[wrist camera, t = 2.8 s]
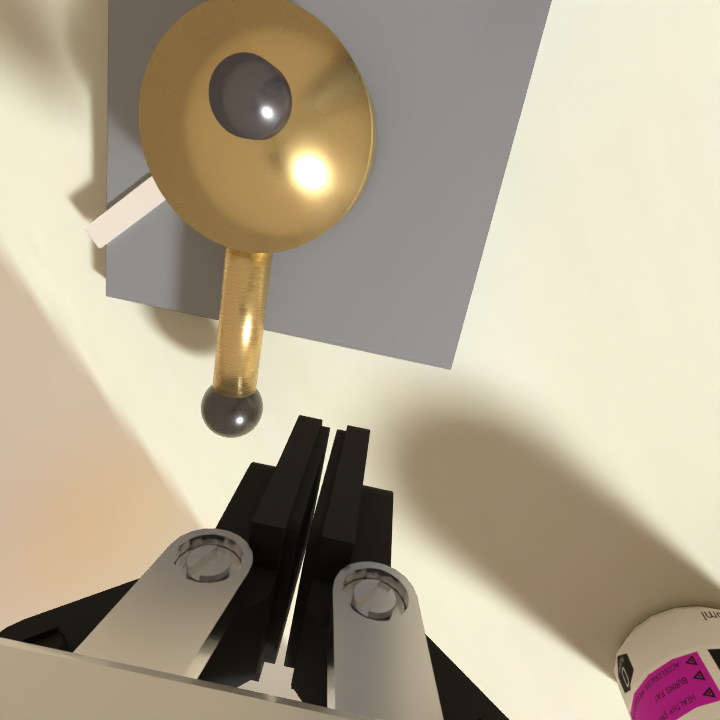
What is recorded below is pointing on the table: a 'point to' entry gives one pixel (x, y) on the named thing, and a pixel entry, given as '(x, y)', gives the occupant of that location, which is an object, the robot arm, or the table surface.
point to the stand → (382, 195)
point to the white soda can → (672, 666)
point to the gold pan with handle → (254, 158)
